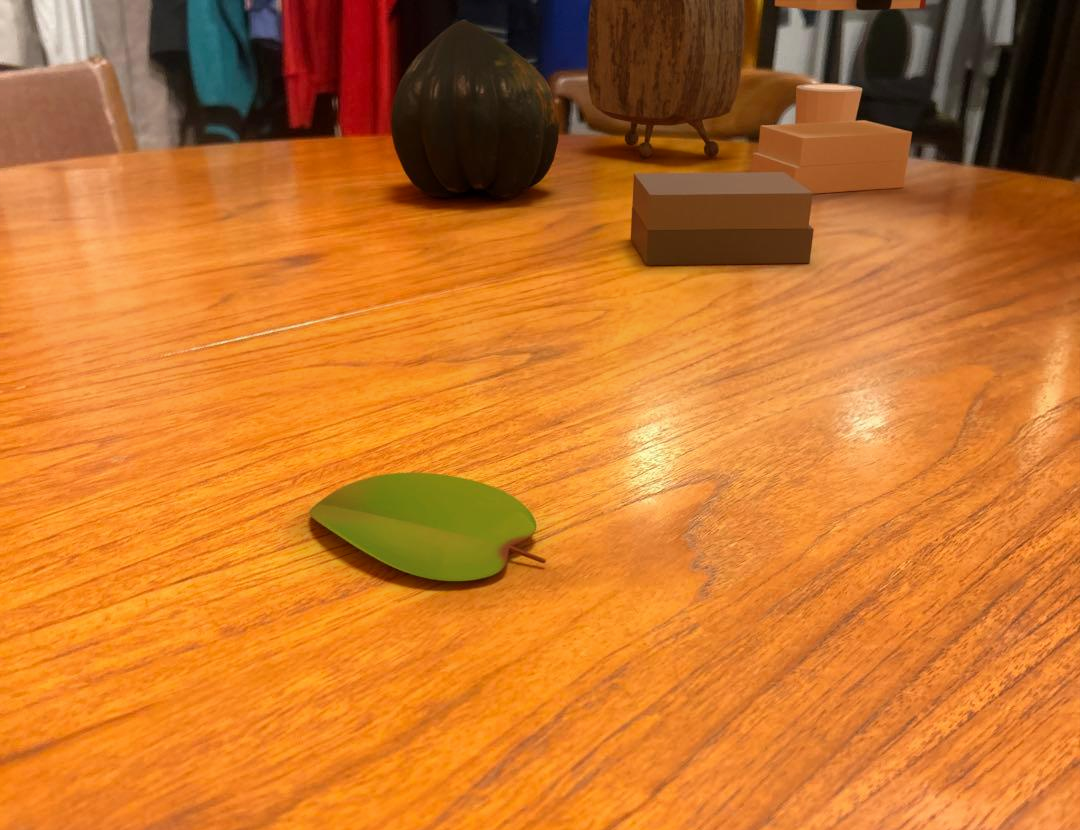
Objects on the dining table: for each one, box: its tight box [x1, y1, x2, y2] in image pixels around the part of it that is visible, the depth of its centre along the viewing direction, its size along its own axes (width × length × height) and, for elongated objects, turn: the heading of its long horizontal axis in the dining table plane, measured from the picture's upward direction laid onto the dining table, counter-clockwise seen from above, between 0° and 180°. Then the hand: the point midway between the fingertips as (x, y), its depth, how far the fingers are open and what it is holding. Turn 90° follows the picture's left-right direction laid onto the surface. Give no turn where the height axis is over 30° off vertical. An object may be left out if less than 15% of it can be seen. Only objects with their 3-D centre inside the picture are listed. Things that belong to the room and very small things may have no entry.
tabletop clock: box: [586, 0, 746, 159], centre depth 112 cm, size 14×9×25 cm, turn 49°
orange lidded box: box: [750, 119, 913, 195], centre depth 104 cm, size 12×8×5 cm, turn 109°
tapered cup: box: [794, 82, 863, 124], centre depth 117 cm, size 7×7×7 cm
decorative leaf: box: [308, 472, 547, 582], centre depth 43 cm, size 8×9×1 cm
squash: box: [390, 19, 560, 201], centre depth 98 cm, size 14×15×15 cm
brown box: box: [630, 171, 815, 267], centre depth 81 cm, size 12×8×5 cm, turn 94°
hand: (847, 5), depth 98 cm, fingers closed on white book, 7 cm apart
